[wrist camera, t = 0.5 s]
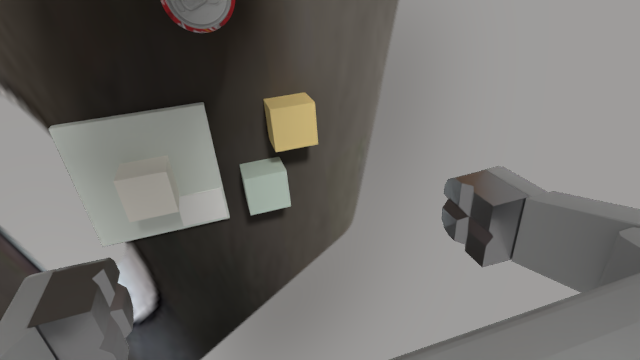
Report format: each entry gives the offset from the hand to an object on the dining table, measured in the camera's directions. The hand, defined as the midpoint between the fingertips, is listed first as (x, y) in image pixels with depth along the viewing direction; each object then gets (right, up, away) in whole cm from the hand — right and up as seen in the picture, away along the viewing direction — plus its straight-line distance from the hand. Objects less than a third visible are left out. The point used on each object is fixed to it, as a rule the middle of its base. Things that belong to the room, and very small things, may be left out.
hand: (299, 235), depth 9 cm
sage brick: (-8, +2, +48) cm, 49 cm away
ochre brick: (-4, +11, +45) cm, 46 cm away
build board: (-23, +2, +43) cm, 48 cm away
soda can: (-14, +23, +34) cm, 44 cm away
